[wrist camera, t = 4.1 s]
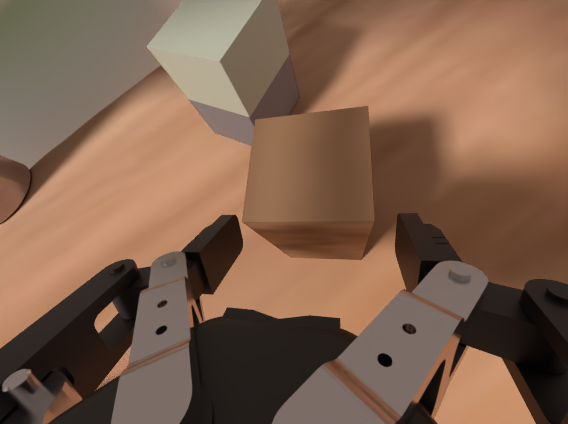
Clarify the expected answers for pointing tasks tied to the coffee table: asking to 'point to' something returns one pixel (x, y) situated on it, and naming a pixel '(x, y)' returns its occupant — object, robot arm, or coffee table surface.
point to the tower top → (223, 51)
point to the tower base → (272, 104)
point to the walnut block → (312, 183)
